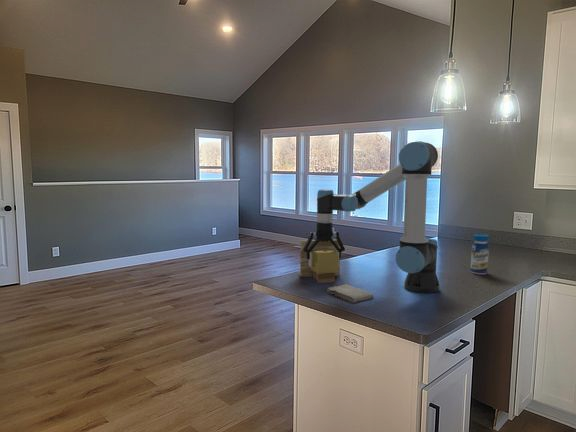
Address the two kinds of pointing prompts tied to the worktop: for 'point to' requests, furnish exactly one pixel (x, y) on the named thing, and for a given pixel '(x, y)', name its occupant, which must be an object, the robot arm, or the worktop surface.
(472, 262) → the beverage bottle
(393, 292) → the worktop surface
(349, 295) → the washcloth
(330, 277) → the wall board
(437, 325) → the worktop surface
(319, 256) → the cheese
